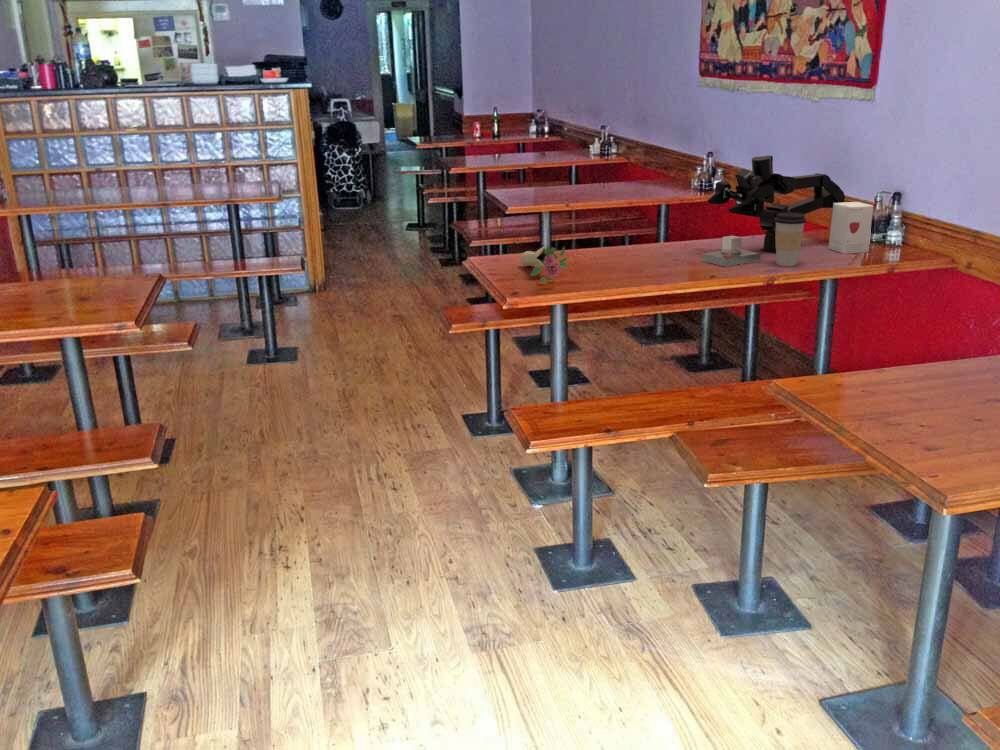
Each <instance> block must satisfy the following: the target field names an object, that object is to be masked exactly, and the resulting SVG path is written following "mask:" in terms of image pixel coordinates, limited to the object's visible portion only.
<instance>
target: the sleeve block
mask: <svg viewBox="0 0 1000 750" xmlns="http://www.w3.org/2000/svg"><path fill="white" fill-rule="evenodd" d="M701 255H702V259H701V261H702V262H703V261H704V262H703V263H707V262H708V263H707V264H711V263H713V264H712V265H714V264H717V265H716V266H718V265H720V266H719V267H722V266H728V267H732V266H731V265H735V266H738V265H737V264H741V265H744V264H743V263H748V264H751V263H750V262H754V263H758V262H757V261H759V262H760V261H761V260H760V258H761V254H760V253H759V252H755V251H751V250H746V249H743V248H741V254H739V255H726V254H722V250H718V251H717V250H716V251H709V252H704V253H703V252H702V254H701Z"/></svg>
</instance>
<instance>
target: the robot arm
mask: <svg viewBox="0 0 1000 750" xmlns="http://www.w3.org/2000/svg"><path fill="white" fill-rule="evenodd" d="M773 159H774V157H773V155H765V156H764V155H763V156H754V157H752V158H751V170H748V169H745V168H742V169H741V170H740V171H738V172H737V173H736V174H735V175H734V177H735V178H736V182H737V184H736V185H735V190H734V189H732V185H731V184H730V183H728V182H726V181H723V180H720V181H717V182H716V183H715V193H713V195H711V196H710V197H709V198H708V200H707V204H709V205H710V204H711V205H724V204H727V203H729V201H730V200H731V199H732V200H734V201H735V205H733V206H731V207H730V208H729V209H728V213H731V214H735V215H742V216H747V217H750V218H753V217H754V218H756V219H757V218H758V220H759V225H760V228H761V231H765V233H764V234H765V235H764V239H763V241H764V242H763V247H760V250H762V251H765V252H770V253H776V239H775V230H776V222H774V218H775V217H776V216H777V214H778V213H801V214H804V215H806V214H807V215H808V214H809V213H812V212H814V211H817V210H820V209H826V208H827V209H833V203H843V202H845V199H846V195H845V192H844V190H843V189H842V188H841V187H840V186H839V185H838V184H837V183H835V182H834V181H833V180H832V179H831V178H830V176H829V175H827V174H823V173H812V174H805V175H796V176H794V175H793V176H788V175H782V174H781V173H775V172H774V170H773V169H774V167H773V166H774V165H773ZM809 188H813V194H814V195H813V196H810V197H807V198H805V199H802V200H798V201H797V202H793V203H791V204H788V205H787V204H782V203H781V204H780V203H776V202H775V199H776V196H775V194H776V195H783V196H785V195H789V194H792V193H793V192H794V191H795V190H802V189H809ZM765 204H770V205H765Z"/></svg>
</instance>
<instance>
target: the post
mask: <svg viewBox="0 0 1000 750" xmlns="http://www.w3.org/2000/svg"><path fill="white" fill-rule="evenodd" d="M742 239H743V237H742V236H741V237H740V236H736V235H727V236H722V245H721V251H722V254H726V255H739V254H741V249H742Z"/></svg>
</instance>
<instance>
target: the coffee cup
mask: <svg viewBox="0 0 1000 750" xmlns="http://www.w3.org/2000/svg"><path fill="white" fill-rule="evenodd" d="M805 215H806V214H801V213H778V214H777V216H776V217H775V218H774V222H776V230H775V239H776V254H775V256H776V265H777V264H778V265H777V266H779V265H781V266H780V267H795V265H796V266H797V265H798V259H799V254H800V250H801V246H802V242H803V241H802V240H803V235H804V227H805V224H806V223H807V222H808V221H807V219H808V218H806V217H805Z"/></svg>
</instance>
